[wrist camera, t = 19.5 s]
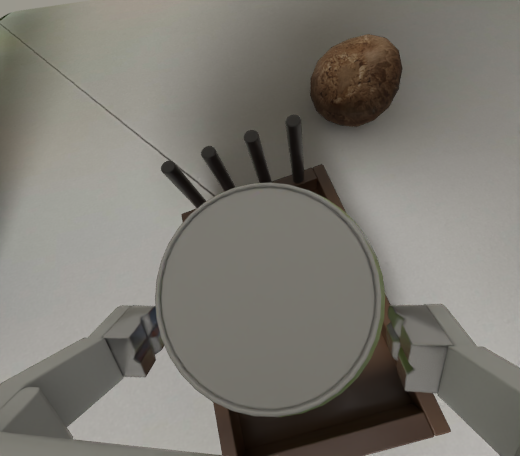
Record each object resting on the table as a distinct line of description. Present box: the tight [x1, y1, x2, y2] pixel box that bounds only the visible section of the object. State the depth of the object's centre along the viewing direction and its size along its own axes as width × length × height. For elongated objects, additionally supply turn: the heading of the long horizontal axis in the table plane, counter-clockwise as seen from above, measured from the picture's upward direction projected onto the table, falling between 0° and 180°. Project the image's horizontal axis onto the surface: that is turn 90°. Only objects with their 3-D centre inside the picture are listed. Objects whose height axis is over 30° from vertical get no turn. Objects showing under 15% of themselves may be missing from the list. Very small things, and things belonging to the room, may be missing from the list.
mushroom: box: [310, 34, 402, 127], centre depth 24 cm, size 8×8×6 cm
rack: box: [161, 115, 451, 456], centre depth 15 cm, size 16×11×11 cm
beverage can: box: [155, 183, 385, 417], centre depth 11 cm, size 6×7×12 cm
